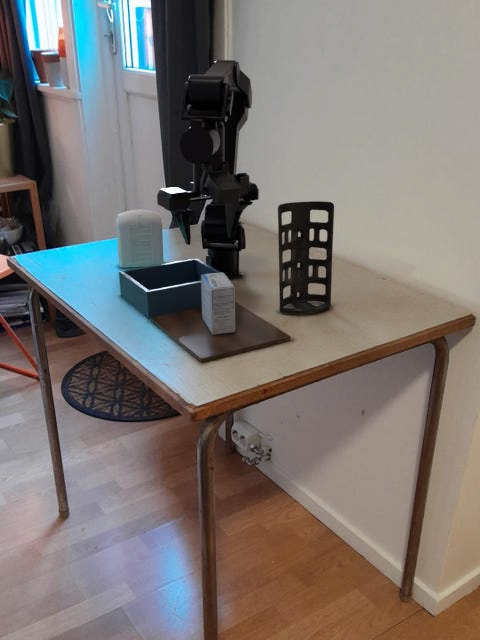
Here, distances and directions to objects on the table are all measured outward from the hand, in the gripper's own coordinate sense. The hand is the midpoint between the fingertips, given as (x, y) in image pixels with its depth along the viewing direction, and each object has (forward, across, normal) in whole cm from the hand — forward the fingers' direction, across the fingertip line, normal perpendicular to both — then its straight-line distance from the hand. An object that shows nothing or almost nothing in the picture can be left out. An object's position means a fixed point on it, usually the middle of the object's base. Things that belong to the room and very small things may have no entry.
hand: (209, 241), depth 126 cm
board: (+12, -6, -14) cm, 19 cm away
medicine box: (+11, -6, -14) cm, 19 cm away
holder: (+12, +14, -12) cm, 22 cm away
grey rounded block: (+12, -3, +27) cm, 30 cm away
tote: (+12, -6, +4) cm, 14 cm away
